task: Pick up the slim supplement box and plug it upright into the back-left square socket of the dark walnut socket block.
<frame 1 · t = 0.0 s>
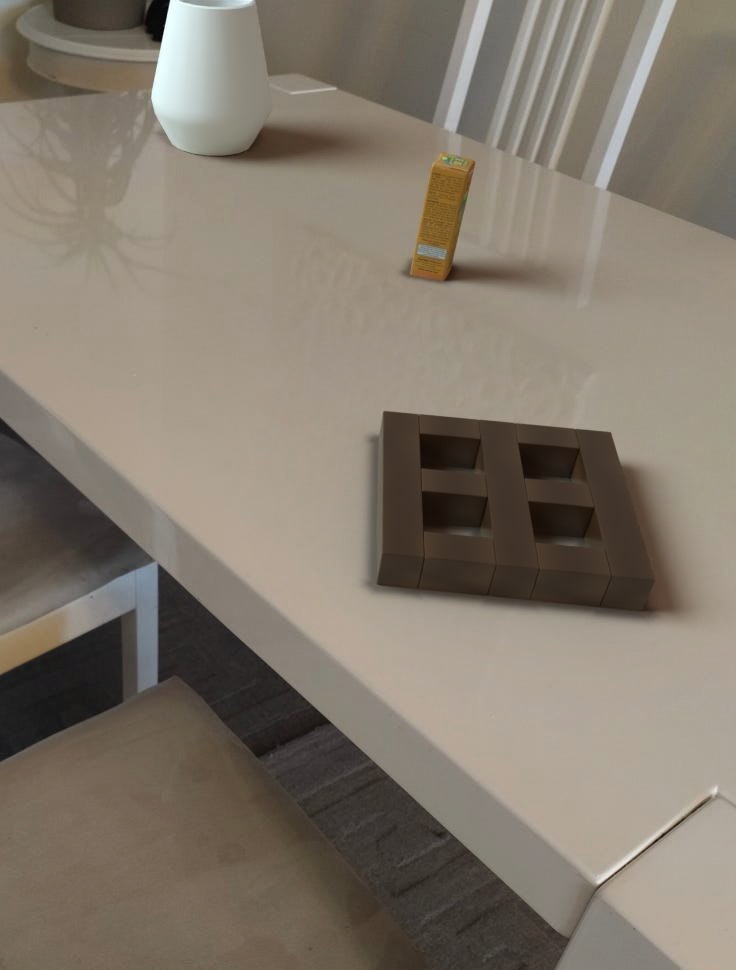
supplement box: (430, 280, 88), on the table
socket block: (495, 525, 62), on the table
white vase: (211, 143, 111), on the table
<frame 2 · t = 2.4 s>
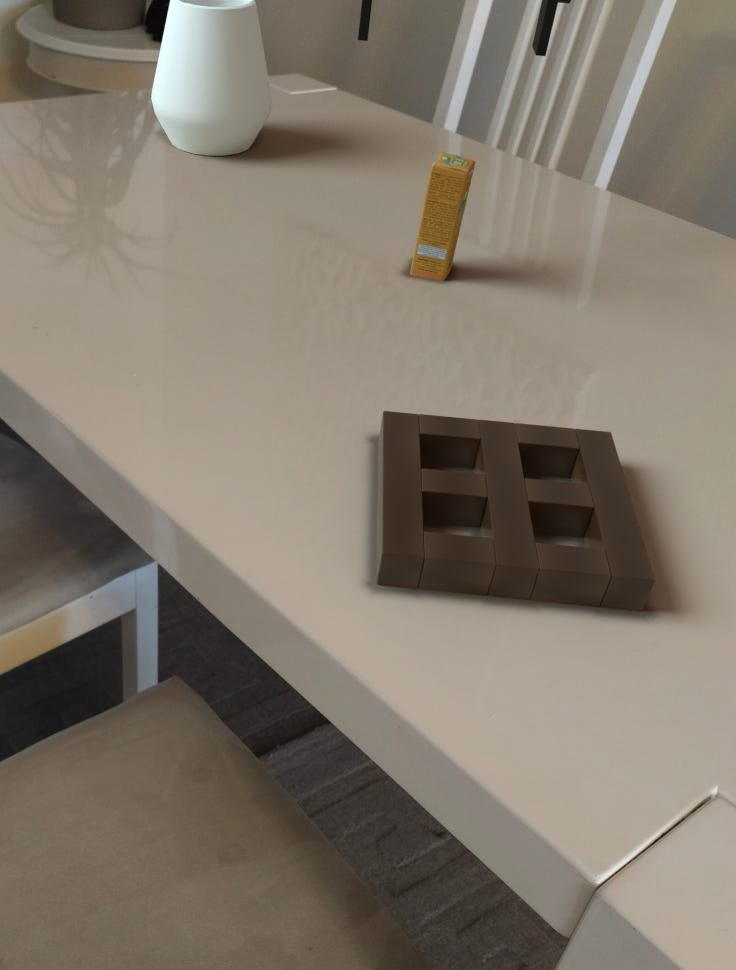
hand: (450, 44, 75), 18 cm above the table, tool pointing down, fingers open, 13 cm apart
nothing on the table moved.
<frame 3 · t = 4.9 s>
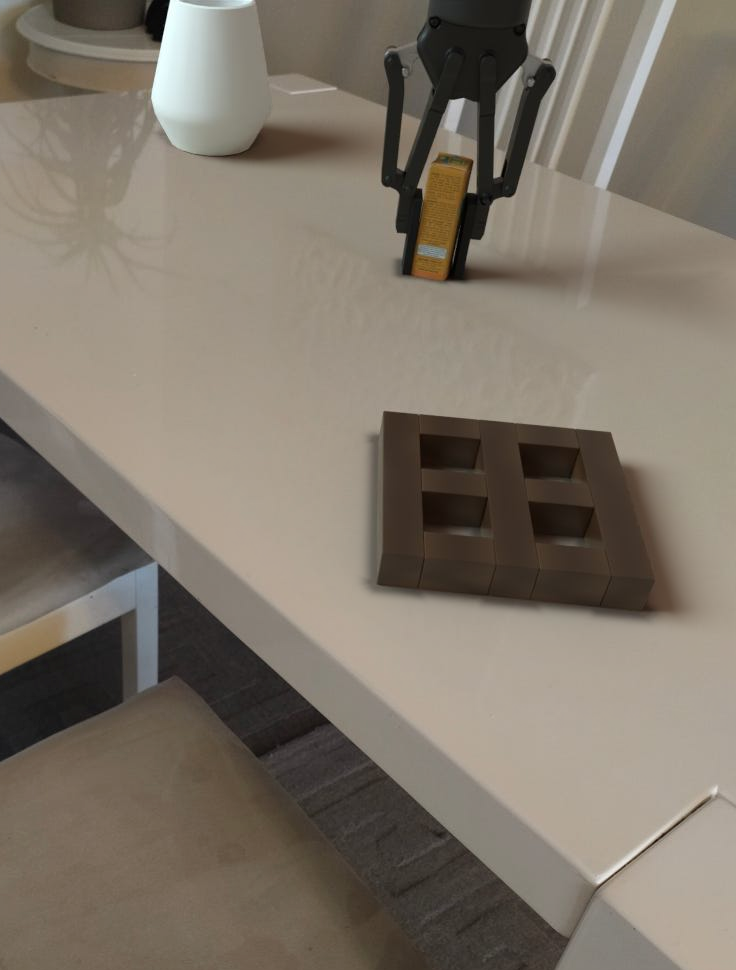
hand: (431, 270, 87), 1 cm above the table, tool pointing down, fingers closed on supplement box, 4 cm apart
supplement box: (431, 279, 88), on the table, touching gripper
everything else where it was.
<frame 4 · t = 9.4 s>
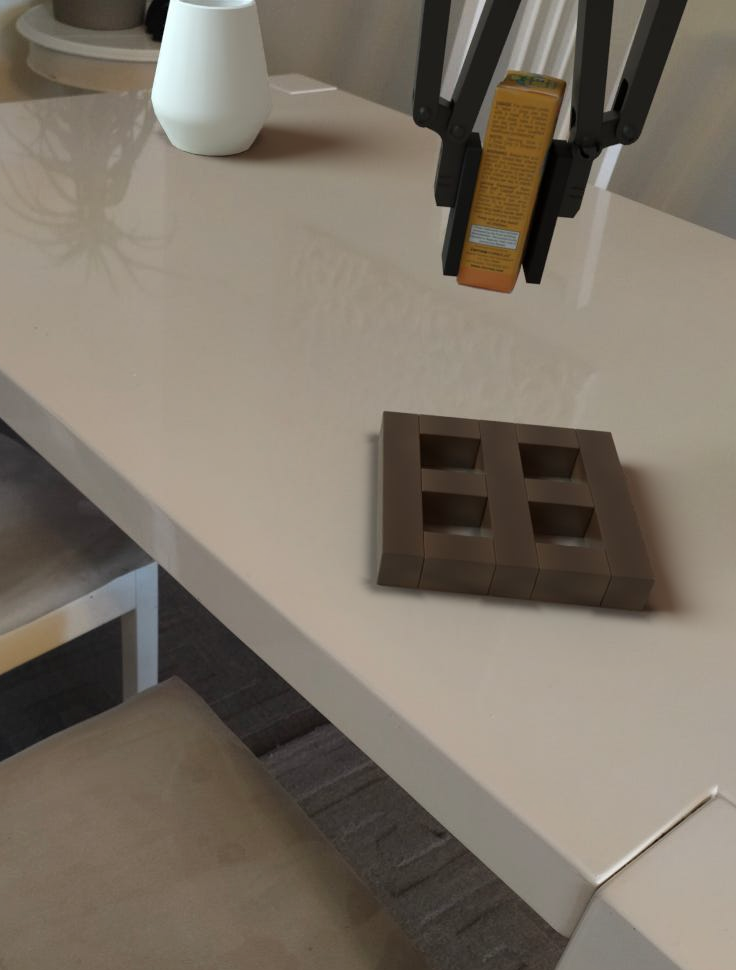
hand: (489, 268, 54), 15 cm above the table, tool pointing down, fingers closed on supplement box, 4 cm apart
supplement box: (489, 283, 55), point 14 cm above the table, touching gripper
everything else where it was.
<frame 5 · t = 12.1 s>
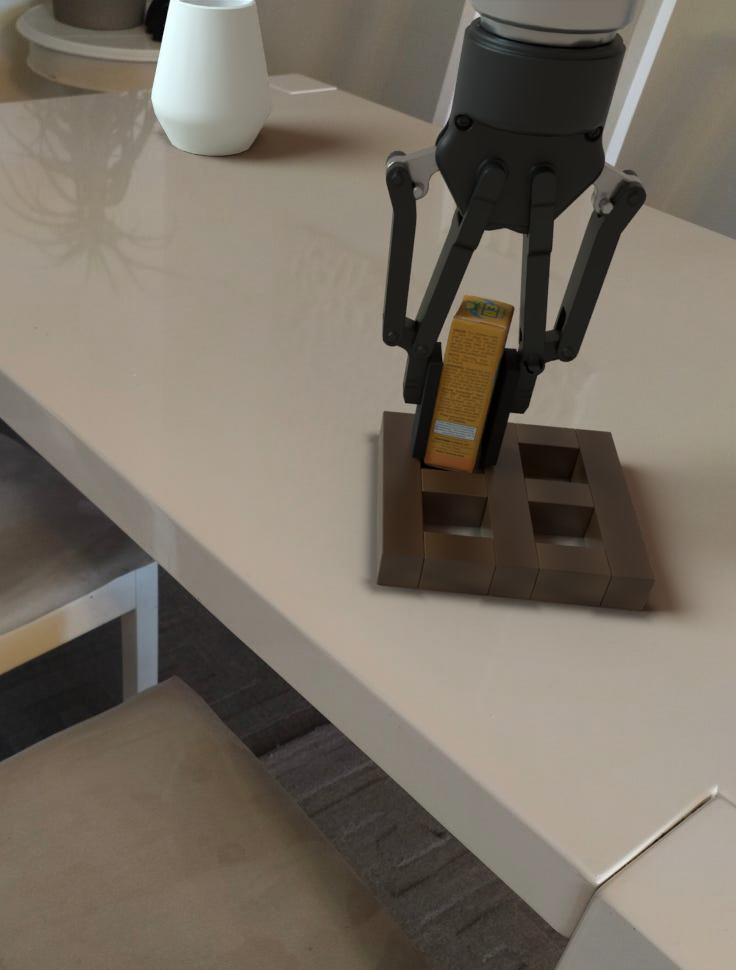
hand: (453, 448, 62), 3 cm above the table, tool pointing down, fingers closed on supplement box, 4 cm apart
supplement box: (453, 460, 62), point 2 cm above the table, touching gripper
everything else where it was.
when the fingers open (4 cm above the table, at t = 13.9 s): supplement box drops 3 cm, resting in socket block.
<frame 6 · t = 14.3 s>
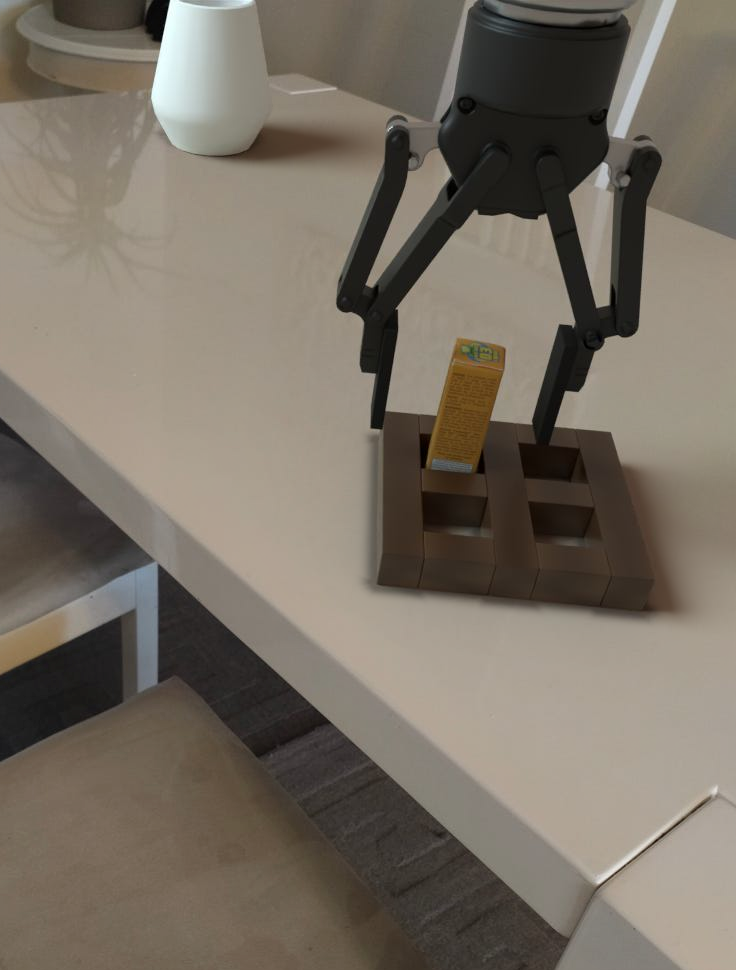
hand: (458, 425, 61), 5 cm above the table, tool pointing down, fingers open, 9 cm apart
supplement box: (445, 494, 64), resting in socket block
everything else where it was.
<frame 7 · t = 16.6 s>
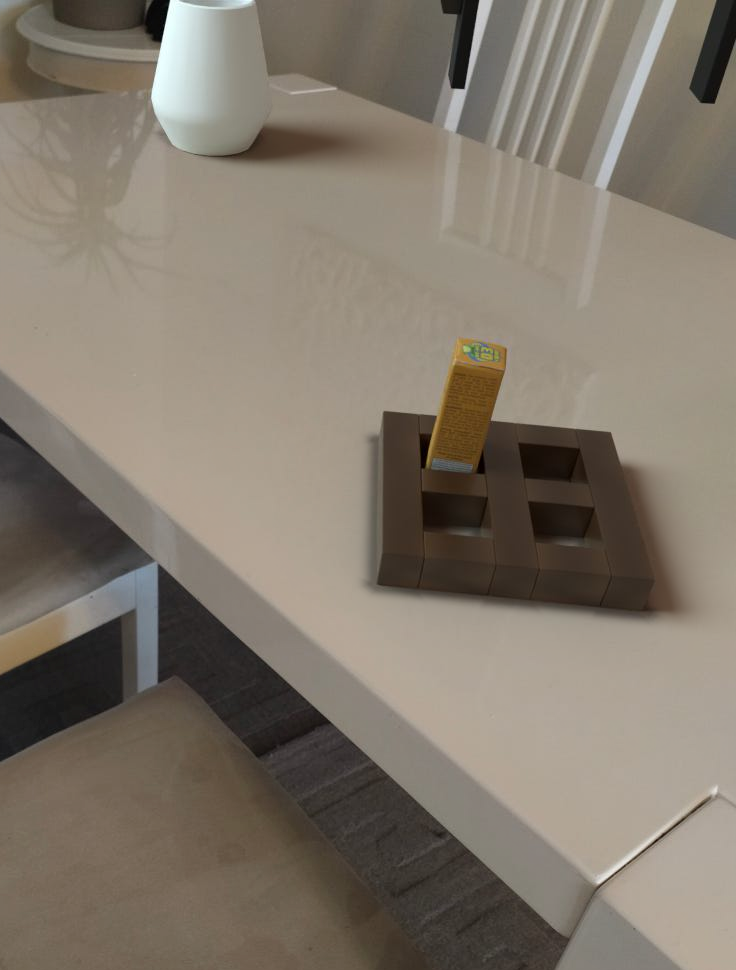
hand: (578, 90, 54), 22 cm above the table, tool pointing down, fingers open, 13 cm apart
nothing on the table moved.
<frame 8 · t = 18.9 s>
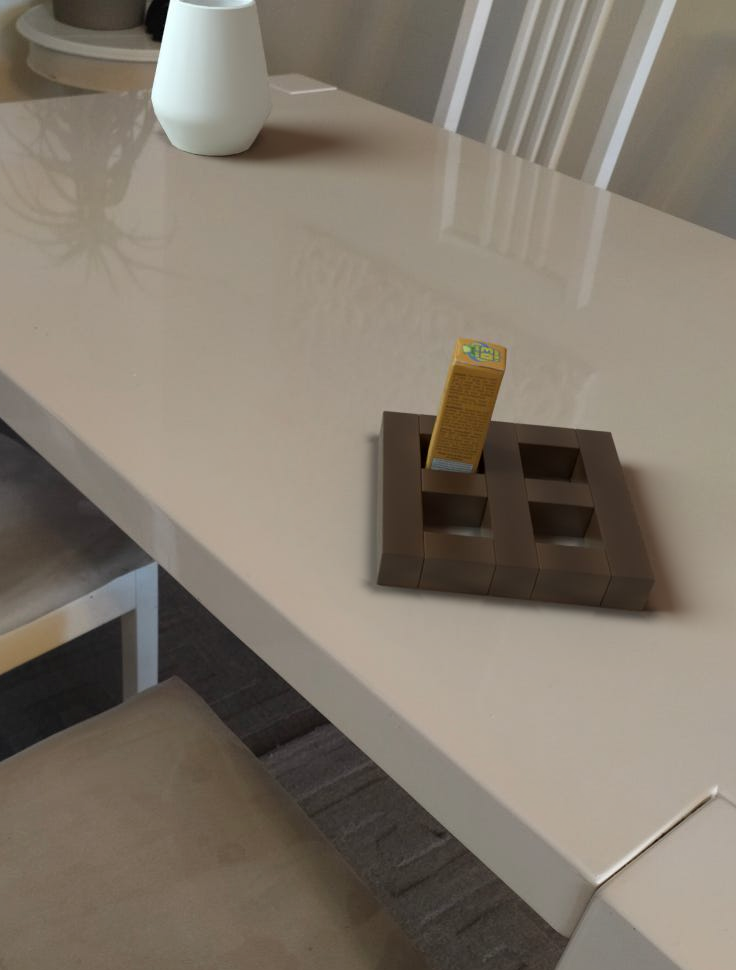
nothing on the table moved.
at the end: supplement box 0.2 cm from the target spot in the socket block, point 0.0 cm above the socket block's base; supplement box tilted 0°; the gripper is holding nothing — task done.
